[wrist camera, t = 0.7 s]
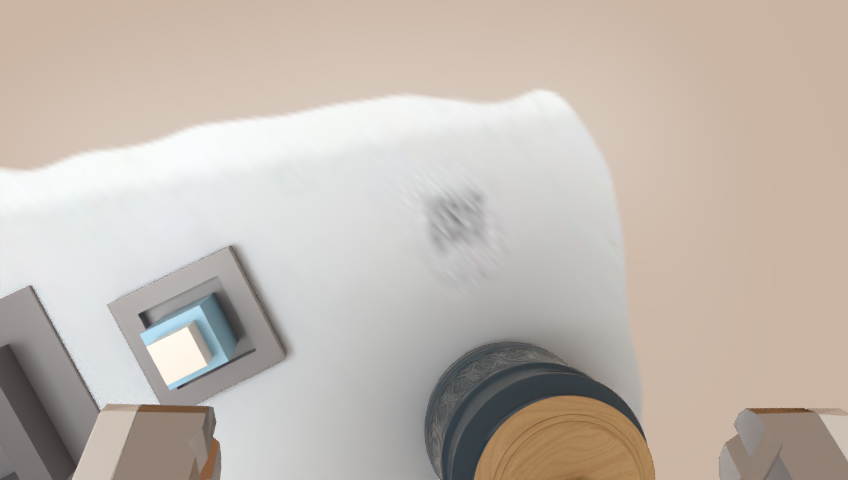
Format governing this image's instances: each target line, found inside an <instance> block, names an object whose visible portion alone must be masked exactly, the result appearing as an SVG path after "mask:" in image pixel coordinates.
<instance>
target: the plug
mask: <svg viewBox="0 0 848 480" xmlns="http://www.w3.org/2000/svg"><path fill="white" fill-rule="evenodd" d="M140 336H141V338H142V340H143V342H144V343H145V345H146V348H147V350H148V351H149V353H150V355H151V357H152V359H153V361H154V363H155V365H156V366H157V368H158V370H159V372H160V374H161V376H162V378H163V379H164V381H165V383H166V385H167V386H168V388H169V390H172V389H174V388H176V387H178V386H180V385H182V384H184V383H186V382H188V381H190V380H192V379H194V378H196V377H198V376H200V375H202V374H204V373H206V372H208V371H210V370H212V369H214V368H216V367H218V366H220V365H222V364H224V363H226V362H228V361H229V359H230V357H231V355H232V353H233V352H234V350H235V348H236V346H237V344H238V342H239V340H238V338H237V336H236V334H235V332H234V330H233V328H232V326H231V324H230V322H229V320H228V318H227V317H226V315H225V313H224V311H223V309H222V307H221V305H220V303H219V301H218V299H217V297H216V295H215V293H214V292H213V293H211V294H209V295H207V296H205V297H203V298H201V299H198V300H196V301H194V302H192V303H190V304H188V305H186V306H184V307H182V308H180V309H178V310H176V311H174V312H172V313H170V314H168V315H166V316H163V317H162V318H160V319H159V320H158V321H156V322H155V323H154V324H152V325H151V326H150V327H148V328H147V329H146V330H144V331H143V332H142V333H141V334H140Z"/></svg>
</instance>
